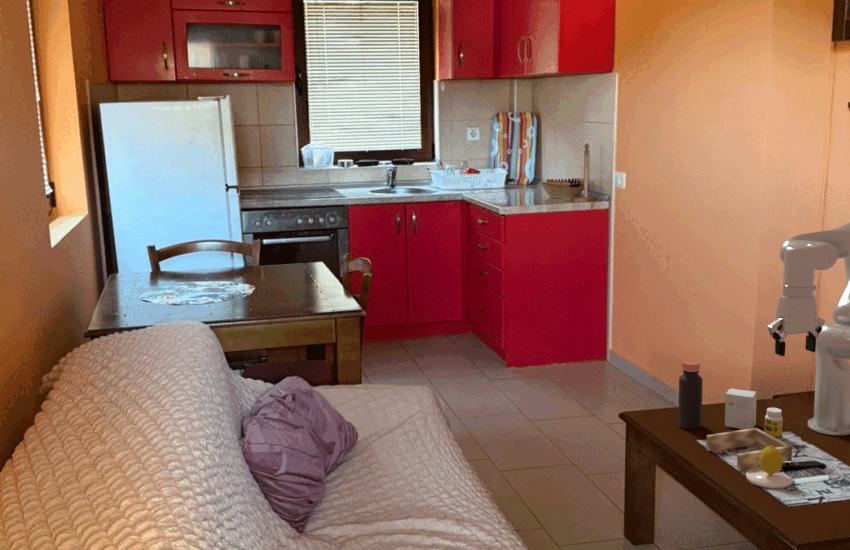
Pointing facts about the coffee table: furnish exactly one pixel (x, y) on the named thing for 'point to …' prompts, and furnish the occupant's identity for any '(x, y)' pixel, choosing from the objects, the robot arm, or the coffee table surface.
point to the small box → (740, 409)
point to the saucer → (767, 479)
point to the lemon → (770, 460)
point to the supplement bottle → (774, 422)
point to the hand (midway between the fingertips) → (795, 352)
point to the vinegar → (690, 396)
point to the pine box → (746, 439)
